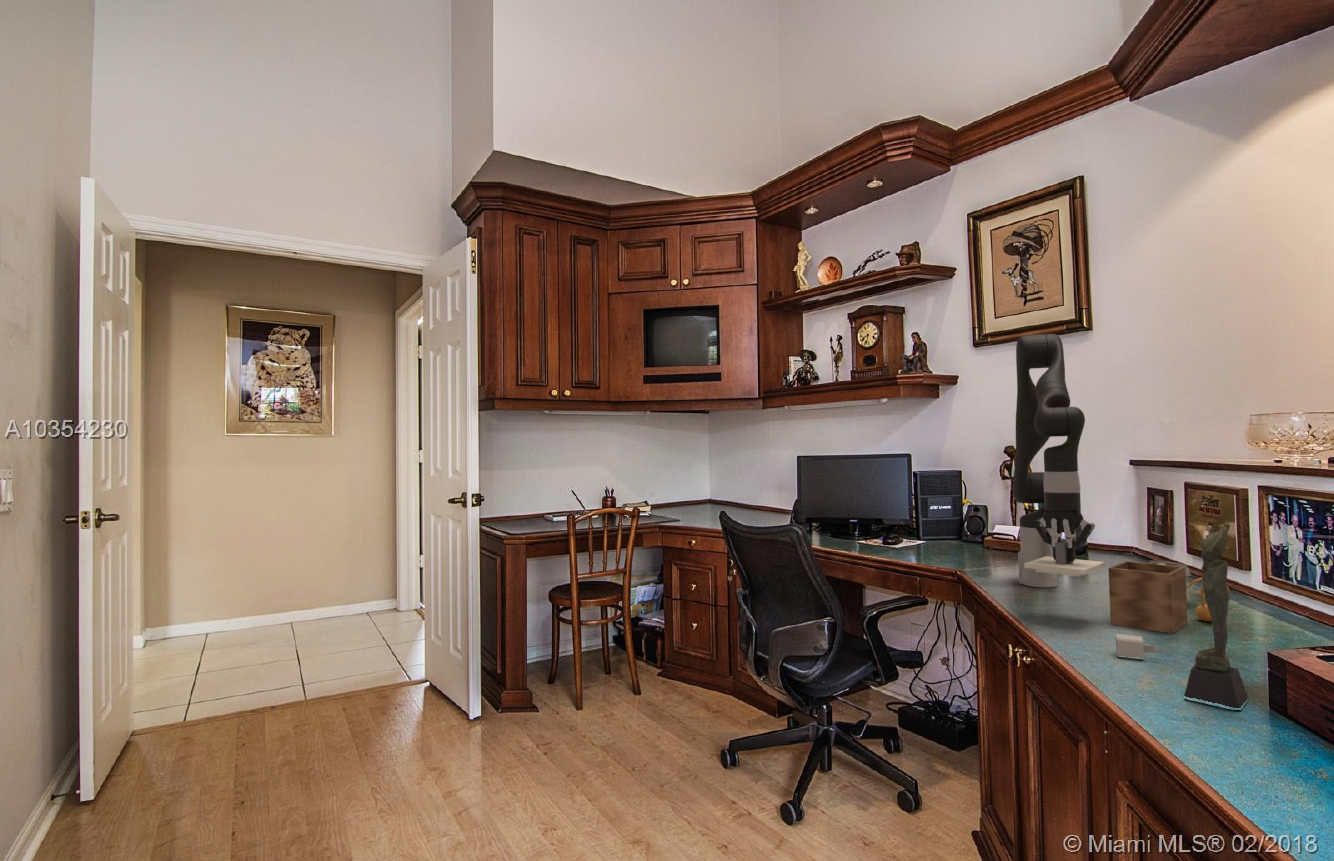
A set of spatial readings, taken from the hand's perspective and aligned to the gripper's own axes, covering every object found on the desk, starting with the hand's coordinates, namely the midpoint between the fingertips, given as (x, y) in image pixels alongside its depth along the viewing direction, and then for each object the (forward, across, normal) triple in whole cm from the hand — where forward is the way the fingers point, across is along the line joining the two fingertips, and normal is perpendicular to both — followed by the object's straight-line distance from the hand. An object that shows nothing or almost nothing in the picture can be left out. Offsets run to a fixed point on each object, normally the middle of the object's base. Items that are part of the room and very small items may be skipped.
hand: (1064, 562), depth 162 cm
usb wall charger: (+14, +20, -19) cm, 31 cm away
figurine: (+14, +23, +20) cm, 34 cm away
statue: (+14, +35, -35) cm, 51 cm away
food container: (+14, +13, +36) cm, 41 cm away
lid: (+1, 0, 0) cm, 1 cm away
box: (+14, +14, +10) cm, 22 cm away
